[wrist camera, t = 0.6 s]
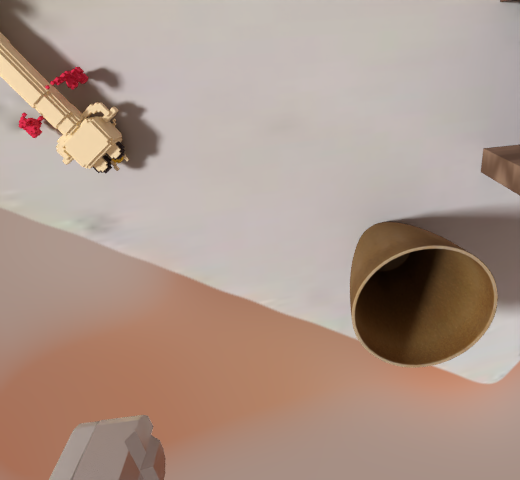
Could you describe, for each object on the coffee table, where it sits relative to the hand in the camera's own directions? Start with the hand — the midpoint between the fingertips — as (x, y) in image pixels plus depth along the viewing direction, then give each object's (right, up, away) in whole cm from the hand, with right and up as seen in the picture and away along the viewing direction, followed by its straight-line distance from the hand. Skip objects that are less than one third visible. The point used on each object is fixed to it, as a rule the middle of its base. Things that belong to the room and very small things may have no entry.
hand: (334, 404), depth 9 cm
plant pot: (+15, +3, +49) cm, 52 cm away
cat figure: (-27, +22, +41) cm, 54 cm away
